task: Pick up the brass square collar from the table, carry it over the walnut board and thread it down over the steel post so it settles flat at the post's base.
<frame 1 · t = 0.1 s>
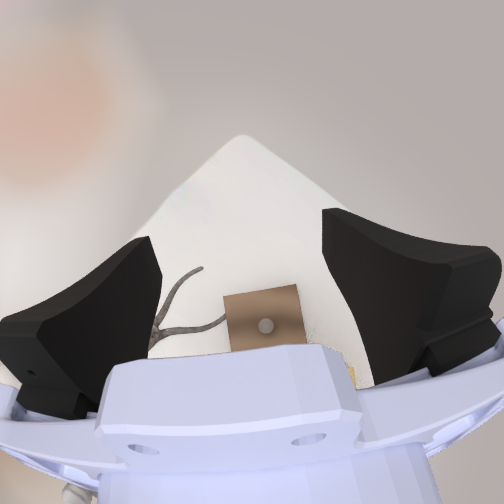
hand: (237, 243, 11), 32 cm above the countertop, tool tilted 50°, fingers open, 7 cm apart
hammer: (169, 500, 32), on the countertop
pliers: (176, 327, 42), on the countertop
post board: (265, 327, 41), on the countertop
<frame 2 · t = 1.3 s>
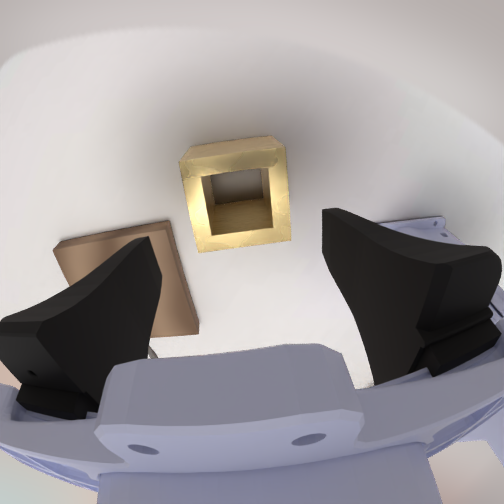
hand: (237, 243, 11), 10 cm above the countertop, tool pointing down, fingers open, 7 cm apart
post board: (128, 285, 23), on the countertop
collar: (236, 178, 19), on the countertop
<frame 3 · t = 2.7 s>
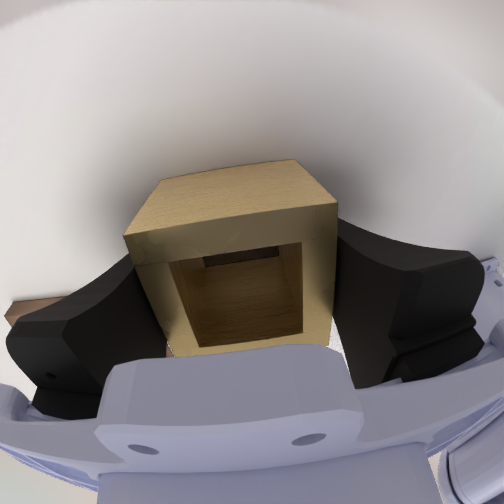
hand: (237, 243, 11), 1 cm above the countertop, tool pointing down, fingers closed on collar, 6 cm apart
post board: (101, 355, 17), on the countertop
collar: (236, 228, 12), on the countertop, touching gripper
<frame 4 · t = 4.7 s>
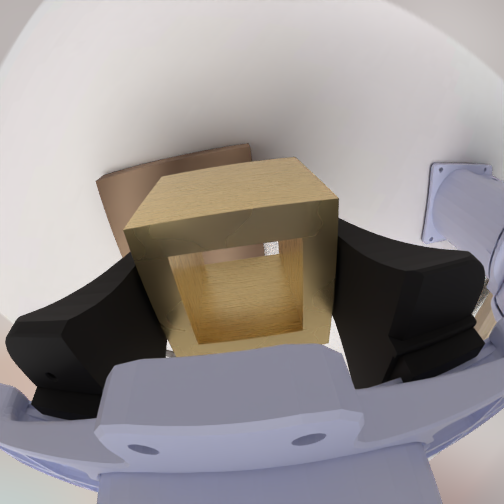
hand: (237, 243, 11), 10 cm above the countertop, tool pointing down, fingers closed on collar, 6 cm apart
hammer: (448, 326, 33), on the countertop
post board: (187, 226, 21), on the countertop
collar: (236, 225, 12), point 8 cm above the countertop, touching gripper
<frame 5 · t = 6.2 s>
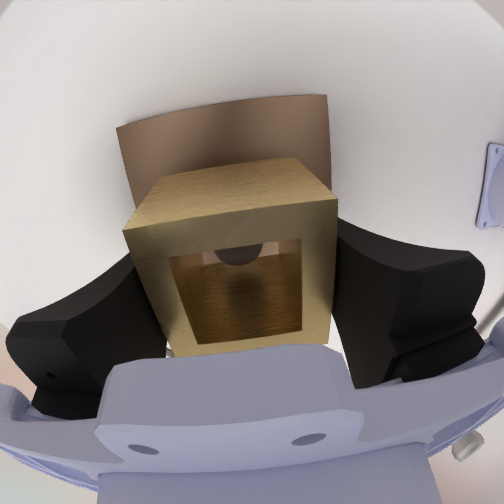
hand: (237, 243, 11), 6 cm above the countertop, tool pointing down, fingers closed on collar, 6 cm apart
hammer: (483, 319, 28), on the countertop
post board: (233, 194, 16), on the countertop
collar: (236, 225, 12), point 4 cm above the countertop, touching gripper
when the fingers open (6 cm above the countertop, at t = 7.1 s): collar drops 3 cm, resting on post board.
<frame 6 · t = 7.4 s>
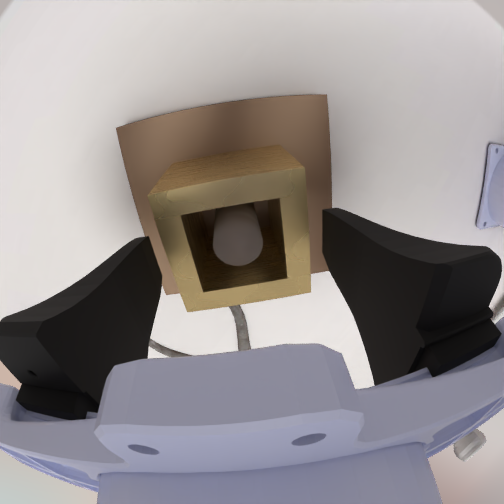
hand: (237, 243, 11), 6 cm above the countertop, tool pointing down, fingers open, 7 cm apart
hammer: (485, 318, 28), on the countertop
pliers: (237, 345, 24), on the countertop
post board: (233, 194, 16), on the countertop
collar: (234, 202, 15), point 1 cm above the countertop, touching post board
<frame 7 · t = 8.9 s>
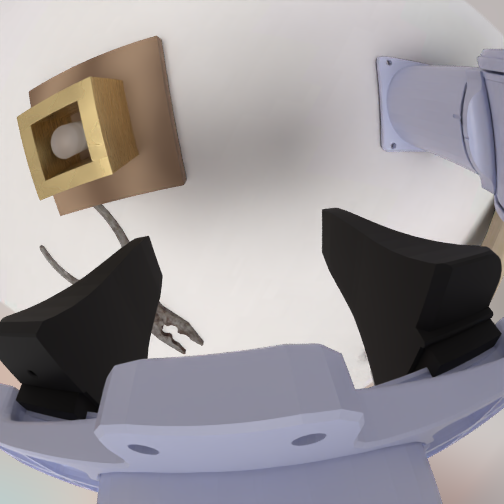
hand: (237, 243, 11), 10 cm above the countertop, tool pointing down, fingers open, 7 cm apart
hammer: (443, 278, 29), on the countertop
pliers: (134, 278, 25), on the countertop
post board: (103, 128, 17), on the countertop
collar: (95, 129, 16), point 1 cm above the countertop, touching post board
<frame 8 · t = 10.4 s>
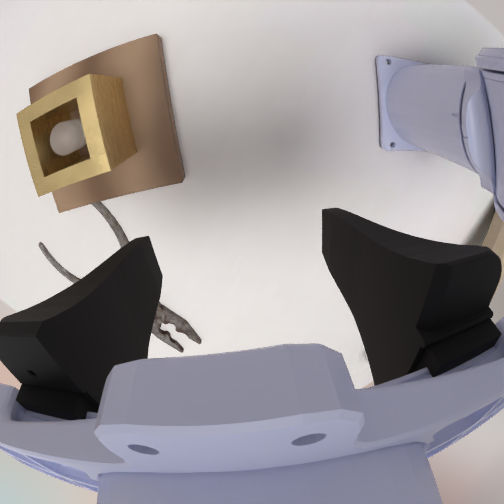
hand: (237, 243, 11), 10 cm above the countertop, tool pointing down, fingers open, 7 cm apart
hammer: (443, 277, 28), on the countertop
pliers: (132, 276, 25), on the countertop
post board: (103, 125, 17), on the countertop
collar: (94, 126, 16), point 1 cm above the countertop, touching post board
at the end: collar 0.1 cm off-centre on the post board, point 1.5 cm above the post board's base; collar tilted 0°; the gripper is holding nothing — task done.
